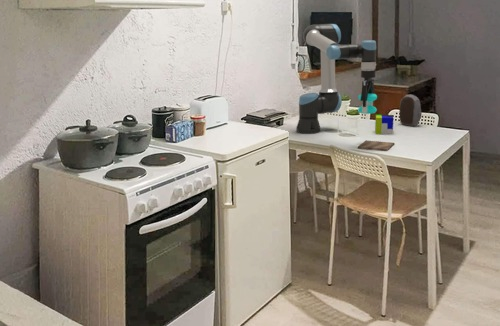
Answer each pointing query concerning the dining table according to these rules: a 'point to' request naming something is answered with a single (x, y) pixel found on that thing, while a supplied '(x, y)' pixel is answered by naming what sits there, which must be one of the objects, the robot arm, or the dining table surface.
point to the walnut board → (376, 145)
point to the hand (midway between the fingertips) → (367, 111)
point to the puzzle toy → (384, 124)
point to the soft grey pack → (410, 110)
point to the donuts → (369, 108)
